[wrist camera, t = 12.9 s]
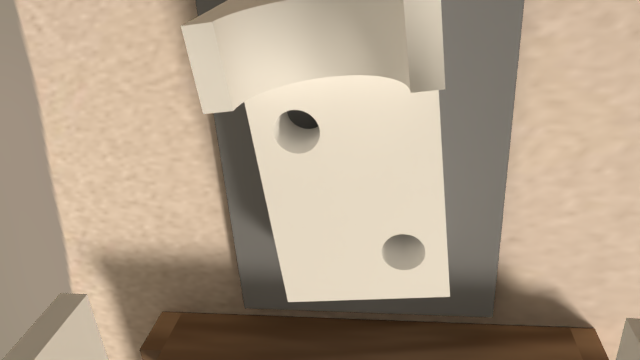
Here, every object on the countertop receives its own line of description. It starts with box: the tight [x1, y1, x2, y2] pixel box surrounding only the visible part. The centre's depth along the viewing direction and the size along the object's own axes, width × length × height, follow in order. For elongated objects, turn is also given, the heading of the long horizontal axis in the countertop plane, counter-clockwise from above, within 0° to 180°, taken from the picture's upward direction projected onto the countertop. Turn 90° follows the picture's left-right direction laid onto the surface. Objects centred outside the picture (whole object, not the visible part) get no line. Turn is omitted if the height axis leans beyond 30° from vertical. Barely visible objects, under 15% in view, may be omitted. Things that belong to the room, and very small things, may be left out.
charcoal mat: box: [196, 0, 524, 317], centre depth 25 cm, size 18×13×1 cm
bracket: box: [181, 0, 450, 302], centre depth 21 cm, size 13×7×8 cm, turn 9°
